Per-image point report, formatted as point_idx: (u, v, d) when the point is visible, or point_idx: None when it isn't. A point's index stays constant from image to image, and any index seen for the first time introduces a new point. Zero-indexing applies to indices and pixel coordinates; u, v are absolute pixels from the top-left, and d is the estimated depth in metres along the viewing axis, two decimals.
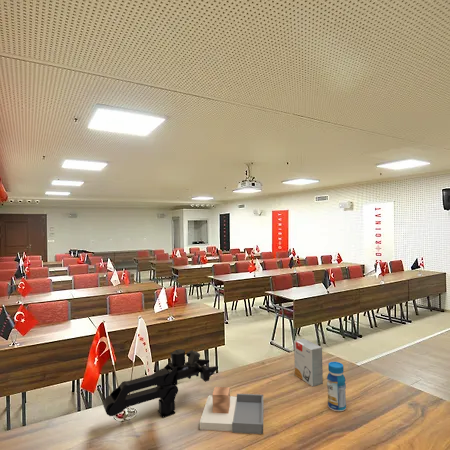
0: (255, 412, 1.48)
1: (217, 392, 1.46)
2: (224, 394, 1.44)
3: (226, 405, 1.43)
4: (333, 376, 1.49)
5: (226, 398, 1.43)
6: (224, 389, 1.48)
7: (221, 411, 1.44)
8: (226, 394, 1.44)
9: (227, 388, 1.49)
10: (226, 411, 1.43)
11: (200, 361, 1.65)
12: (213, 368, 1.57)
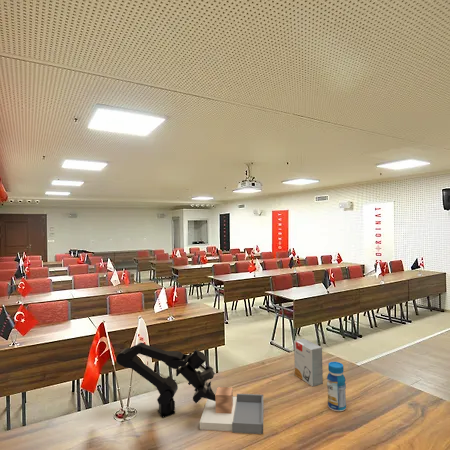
0: (255, 412, 1.48)
1: (220, 392, 1.46)
2: (227, 394, 1.44)
3: (229, 405, 1.43)
4: (333, 376, 1.49)
5: (229, 398, 1.43)
6: (227, 389, 1.48)
7: (224, 411, 1.43)
8: (229, 394, 1.44)
9: (230, 388, 1.49)
10: (229, 411, 1.43)
11: None
12: (211, 395, 1.46)
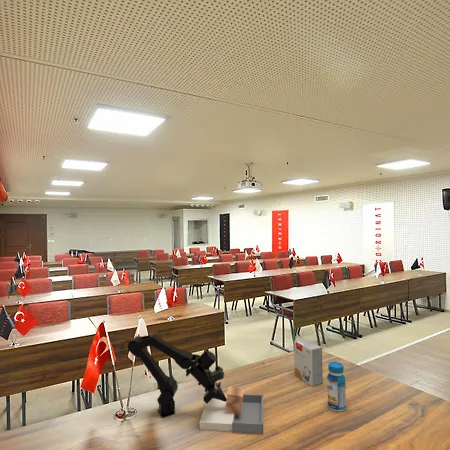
0: (255, 412, 1.48)
1: (231, 391, 1.46)
2: (239, 395, 1.43)
3: (239, 406, 1.43)
4: (333, 376, 1.49)
5: (241, 399, 1.43)
6: (238, 390, 1.48)
7: (233, 412, 1.43)
8: (241, 395, 1.43)
9: (241, 389, 1.49)
10: (238, 412, 1.43)
11: None
12: (221, 396, 1.46)
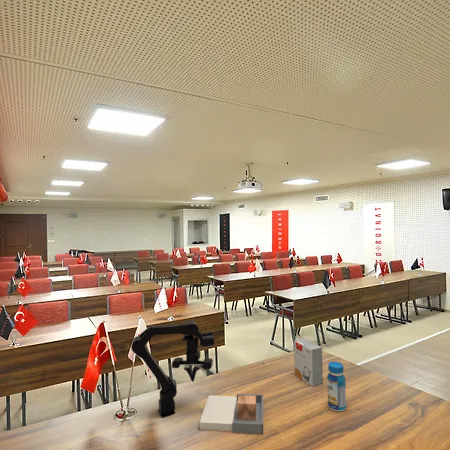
0: None
1: None
2: (255, 415, 1.43)
3: (245, 417, 1.43)
4: (333, 376, 1.49)
5: (252, 418, 1.42)
6: None
7: (238, 411, 1.43)
8: (255, 417, 1.43)
9: None
10: (239, 417, 1.43)
11: (192, 370, 1.54)
12: (195, 374, 1.53)
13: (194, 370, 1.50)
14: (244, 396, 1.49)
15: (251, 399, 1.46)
